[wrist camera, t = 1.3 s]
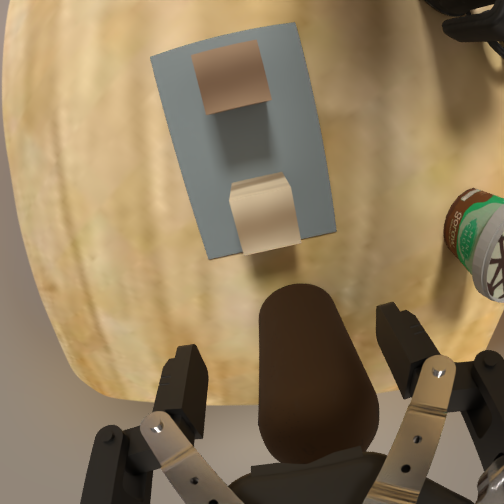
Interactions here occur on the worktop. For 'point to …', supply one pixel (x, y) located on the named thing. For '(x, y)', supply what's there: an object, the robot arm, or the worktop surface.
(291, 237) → the maple block
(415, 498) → the robot arm
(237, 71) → the walnut block
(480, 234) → the food container
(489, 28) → the milk frother
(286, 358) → the olive oil
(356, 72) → the worktop surface
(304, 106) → the mat
